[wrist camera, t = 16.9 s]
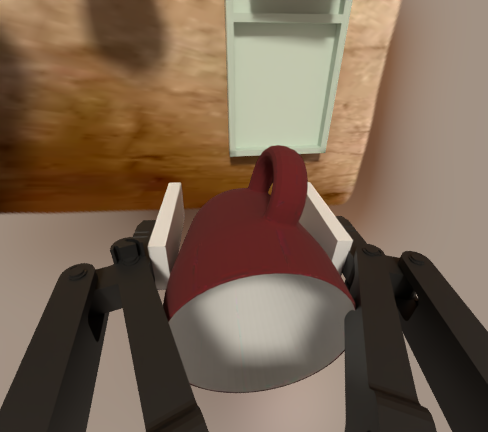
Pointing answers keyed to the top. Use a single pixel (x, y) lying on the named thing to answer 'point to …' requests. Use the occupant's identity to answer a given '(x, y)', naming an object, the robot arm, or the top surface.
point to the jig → (282, 72)
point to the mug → (256, 287)
